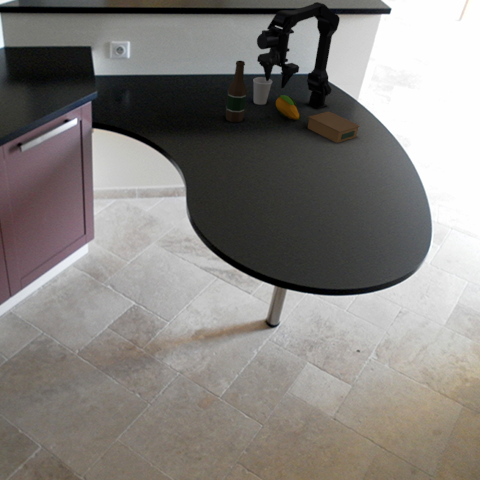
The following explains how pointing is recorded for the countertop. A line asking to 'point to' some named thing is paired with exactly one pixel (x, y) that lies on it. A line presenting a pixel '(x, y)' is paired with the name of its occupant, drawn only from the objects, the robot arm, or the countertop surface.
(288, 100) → the corn
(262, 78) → the dixie cup
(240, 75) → the beer bottle
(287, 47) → the robot arm
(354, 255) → the countertop surface
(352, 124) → the takeaway box
